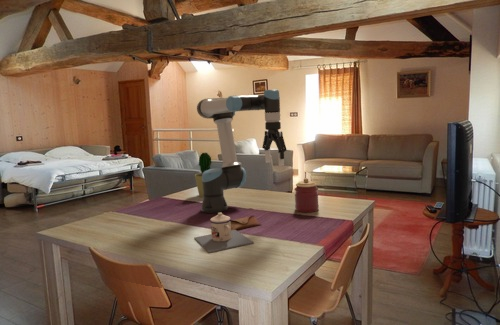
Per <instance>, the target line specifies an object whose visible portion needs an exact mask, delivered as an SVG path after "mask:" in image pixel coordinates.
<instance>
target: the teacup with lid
mask: <svg viewBox="0 0 500 325" xmlns="http://www.w3.org/2000/svg"><path fill="white" fill-rule="evenodd" d="M231 220H232V219H231V217H230V216H228V215H225V214H223V213H222V212H218V213H217V215H215V216H213V217H211V218H210V220H209V222H210V230H211V231H210V232H211V234H212V240H213V241H217V242H223V241H227V240H230V239H231V223H230V221H231Z"/></svg>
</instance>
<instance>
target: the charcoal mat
mask: <svg viewBox="0 0 500 325" xmlns="http://www.w3.org/2000/svg"><path fill="white" fill-rule="evenodd" d="M194 240H195V241H196V242H197V243H198V244H199V245H200V246H202V248H203V249H204V250H206V251H207V252H208V254H211V253H217V252H221V251H225V250H229V249H235V248H239V247H244V246H248V245H252V244H254V243H255V242H254V241H253V240H251V239H250V238H248V237H247V236H246V235H244V234H243V233H241V232H239V230H231V239H230V240H227V241H223V242H217V241H213V240H212V233H211V234H206V235H201V236H196V237H194Z"/></svg>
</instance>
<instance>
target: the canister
mask: <svg viewBox="0 0 500 325" xmlns="http://www.w3.org/2000/svg"><path fill="white" fill-rule="evenodd" d="M317 185H318V184H317V183H316V182H314V181H311V180H309V179H308V177H307V178H304V179H303V180H302V181H298V182H297V183H296V184H295V186H296V187H294V188H293V189H294V191H295V193H294V200H295V201H294V202H295V203H294V204H295V205H294V209H295V211H297V212H299V213H315V212H318V210H319V206H320V205H319V193H318V190H319V187H317Z"/></svg>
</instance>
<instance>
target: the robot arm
mask: <svg viewBox="0 0 500 325" xmlns="http://www.w3.org/2000/svg"><path fill="white" fill-rule="evenodd" d="M280 101H281V99H280V90H279V89H277V88H275V89H265V90H264V91H263V94H252V95H251V94H250V95H249V94H248V95H230V96H228V97H217V98H215V97H213V98H204V99H201V100H199V102H198V103H197V105H196V111H197V114H198V115H199V116H200V117H202V118H203V119H208V120H210V119H211V120H213V123H214V124H215V125H216V129H217V134H218V135H217V136H218V139H219V140H218V141H219V146H220V147H219V148H220V152H221V159H222V165H221V167H218V168H217V167H214V168H211V169H209V170H206V171H204V172H203V174H202V184H203V197H202V201H201V206H200V208H201V212H202V213H205V214H216V213H217V214H218V213H222V212H225V211H228V209H229V208H228V203H227V201H226V198H225V195H224V191H226V190H231V189H237V188H240V187H242V186H244V185H245V183H246V180H247V171H246V169H245V168H244V167H242V166H241V163H239V162H238V158H237V150H236V145H235V139H234V138H235V137H234V132H233V127H232V121H233V120H234V116H236V112H243V111H244V112H245V111H262V110H264V121H265V130H264V136H263V142H262V149H263V150H264V160H265V161H264V162H265V163H266V164H269V163H272V159H271V145H272V143H273V142H274V144H275V146H276V148H277V150H278V152H277V155H278V161H277V162H278V167H281V166H285V152H286V151H288V148H287V147H286V143H285V138H284V136H283V135H284V134H283V131H282V130H281V129H282V128H281V127H282V126H281V124H282V123H281V122H280V121H281V107H280V106H281V105H280V104H281V102H280ZM279 130H281V131H279Z"/></svg>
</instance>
